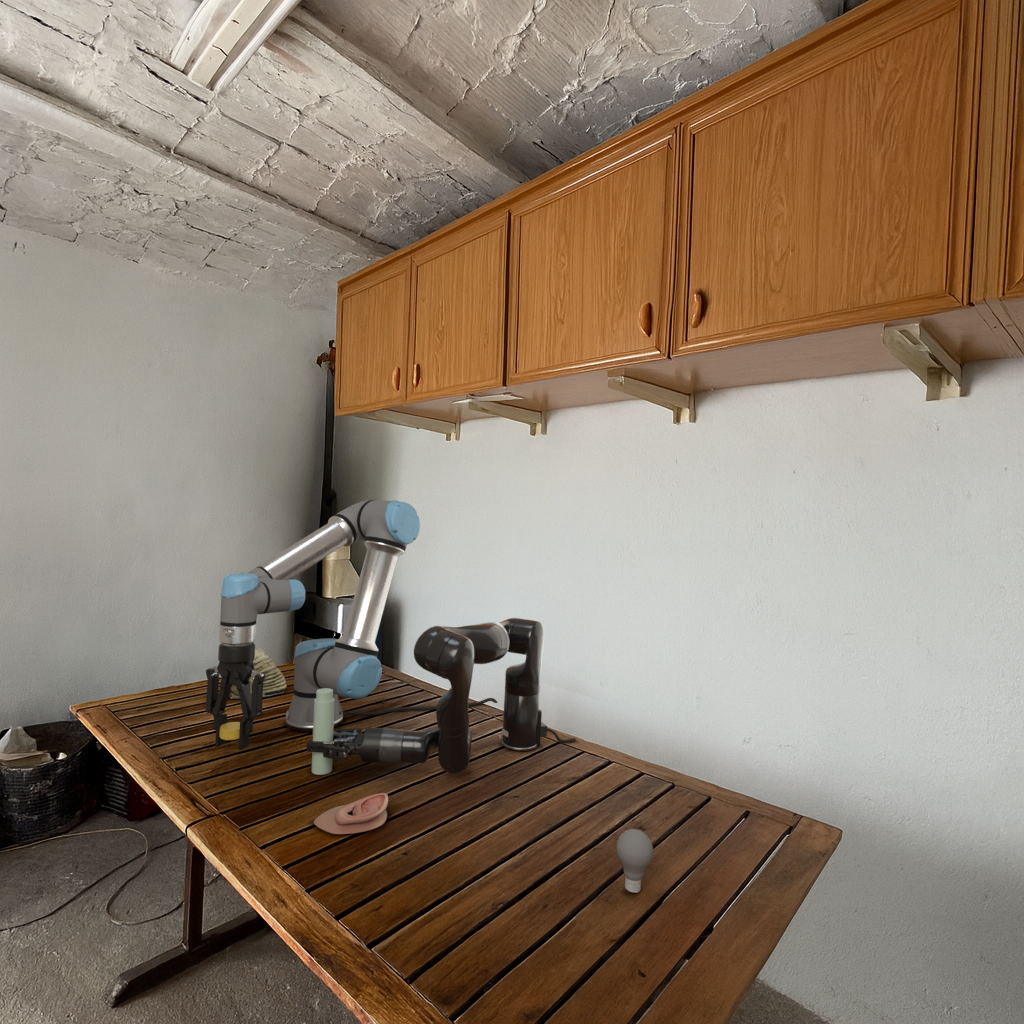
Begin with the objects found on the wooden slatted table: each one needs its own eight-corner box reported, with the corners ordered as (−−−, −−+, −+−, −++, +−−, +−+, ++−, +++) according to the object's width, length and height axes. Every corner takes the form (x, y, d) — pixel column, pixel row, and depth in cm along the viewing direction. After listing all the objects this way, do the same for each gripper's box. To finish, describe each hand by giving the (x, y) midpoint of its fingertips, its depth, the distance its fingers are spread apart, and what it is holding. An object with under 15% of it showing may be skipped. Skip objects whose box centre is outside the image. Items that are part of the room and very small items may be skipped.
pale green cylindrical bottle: (310, 767, 148) (313, 688, 147) (330, 765, 149) (333, 687, 149) (312, 775, 143) (315, 694, 143) (332, 773, 145) (336, 692, 145)
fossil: (218, 695, 195) (220, 647, 195) (278, 685, 208) (279, 640, 207) (228, 703, 189) (230, 653, 188) (289, 692, 201) (290, 645, 201)
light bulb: (610, 879, 108) (613, 822, 108) (644, 879, 109) (647, 822, 109) (619, 902, 102) (622, 840, 102) (655, 901, 103) (658, 840, 103)
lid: (250, 735, 143) (250, 725, 143) (228, 742, 138) (228, 731, 138) (236, 730, 146) (236, 720, 146) (214, 736, 141) (215, 726, 141)
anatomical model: (306, 809, 120) (334, 783, 131) (305, 829, 120) (334, 802, 131) (371, 819, 117) (395, 791, 129) (370, 840, 117) (394, 811, 129)
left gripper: (190, 642, 140) (184, 747, 140) (264, 650, 137) (258, 757, 137) (212, 636, 147) (207, 735, 148) (283, 643, 144) (278, 745, 144)
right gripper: (391, 718, 153) (321, 715, 153) (378, 741, 139) (300, 737, 139) (390, 749, 153) (320, 745, 153) (376, 774, 139) (299, 771, 139)
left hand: (232, 746), depth 142 cm, fingers closed on lid, 5 cm apart
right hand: (311, 741), depth 146 cm, fingers closed on pale green cylindrical bottle, 4 cm apart
